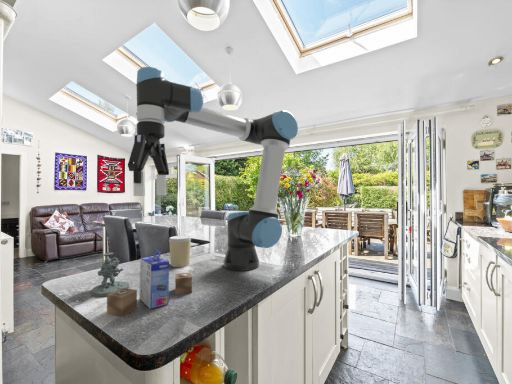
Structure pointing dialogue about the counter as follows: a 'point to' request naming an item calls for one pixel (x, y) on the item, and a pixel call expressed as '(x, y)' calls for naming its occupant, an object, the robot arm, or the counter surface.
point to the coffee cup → (180, 250)
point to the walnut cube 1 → (121, 302)
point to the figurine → (110, 272)
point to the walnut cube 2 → (183, 283)
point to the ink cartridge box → (154, 281)
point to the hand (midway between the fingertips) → (151, 195)
